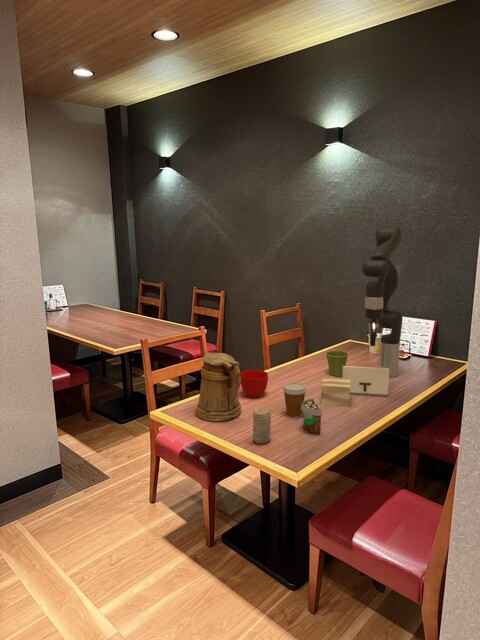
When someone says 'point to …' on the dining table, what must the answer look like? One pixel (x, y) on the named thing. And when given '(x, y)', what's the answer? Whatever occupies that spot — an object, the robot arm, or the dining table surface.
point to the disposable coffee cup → (294, 398)
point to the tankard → (219, 388)
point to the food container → (311, 416)
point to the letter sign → (367, 380)
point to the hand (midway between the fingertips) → (372, 345)
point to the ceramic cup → (254, 382)
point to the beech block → (335, 392)
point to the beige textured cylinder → (261, 425)
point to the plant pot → (336, 362)
